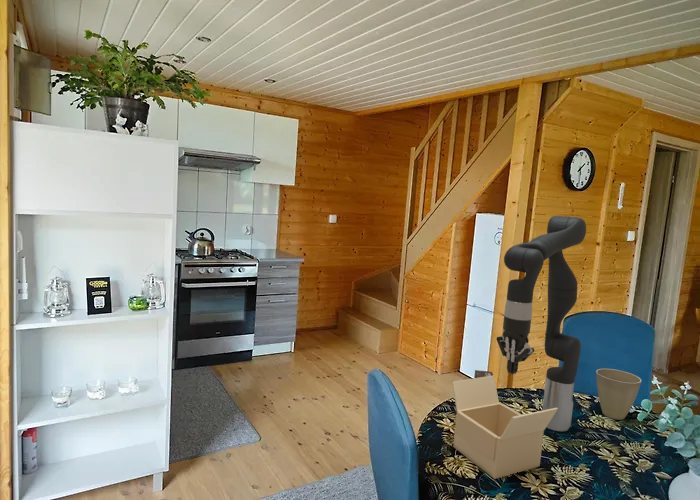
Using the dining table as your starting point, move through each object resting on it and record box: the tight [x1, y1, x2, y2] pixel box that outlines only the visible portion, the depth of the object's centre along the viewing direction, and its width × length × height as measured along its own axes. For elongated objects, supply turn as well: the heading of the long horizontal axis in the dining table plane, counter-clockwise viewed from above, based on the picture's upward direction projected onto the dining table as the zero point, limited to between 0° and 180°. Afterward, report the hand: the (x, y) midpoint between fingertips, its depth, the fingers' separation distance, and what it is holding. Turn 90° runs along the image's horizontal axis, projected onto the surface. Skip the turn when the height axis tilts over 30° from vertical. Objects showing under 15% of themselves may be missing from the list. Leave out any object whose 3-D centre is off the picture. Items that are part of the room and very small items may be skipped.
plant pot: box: [595, 368, 642, 421], centre depth 177 cm, size 15×15×16 cm
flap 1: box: [451, 374, 500, 412], centre depth 151 cm, size 17×9×1 cm
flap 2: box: [500, 408, 558, 440], centre depth 132 cm, size 17×9×1 cm
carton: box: [453, 402, 545, 480], centre depth 142 cm, size 19×18×12 cm
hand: (511, 372), depth 137 cm, fingers closed
